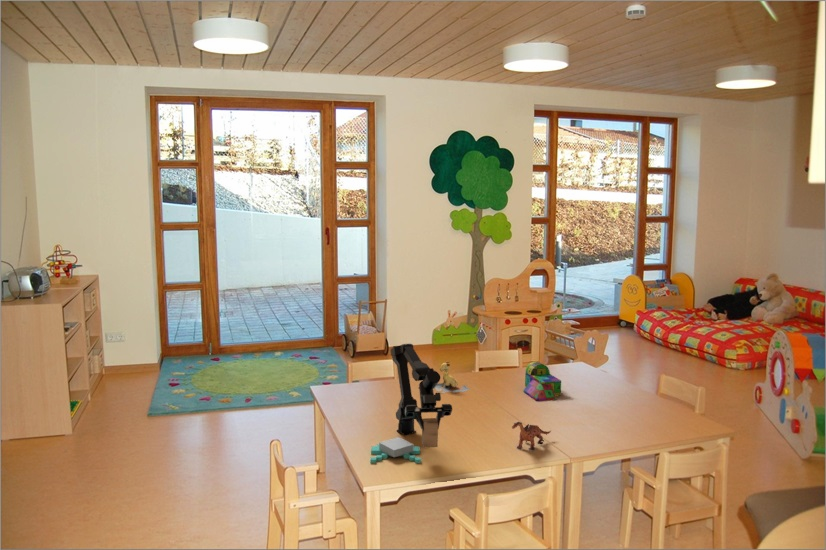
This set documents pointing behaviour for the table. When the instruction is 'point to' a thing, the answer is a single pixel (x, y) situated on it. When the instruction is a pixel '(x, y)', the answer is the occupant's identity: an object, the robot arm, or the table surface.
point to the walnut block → (430, 433)
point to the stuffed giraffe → (448, 381)
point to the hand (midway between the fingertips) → (430, 430)
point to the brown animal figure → (529, 434)
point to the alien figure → (384, 455)
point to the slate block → (396, 447)
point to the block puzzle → (541, 383)
